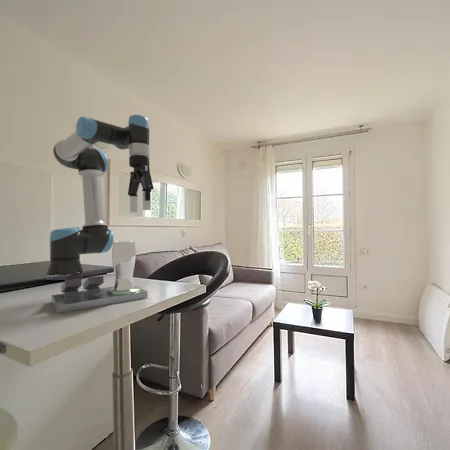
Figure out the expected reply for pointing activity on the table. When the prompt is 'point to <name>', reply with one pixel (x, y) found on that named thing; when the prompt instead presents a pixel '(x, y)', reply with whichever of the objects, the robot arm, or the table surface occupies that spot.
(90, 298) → the switch panel
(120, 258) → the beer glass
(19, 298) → the table surface
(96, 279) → the rocker plain
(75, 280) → the rocker tagged
